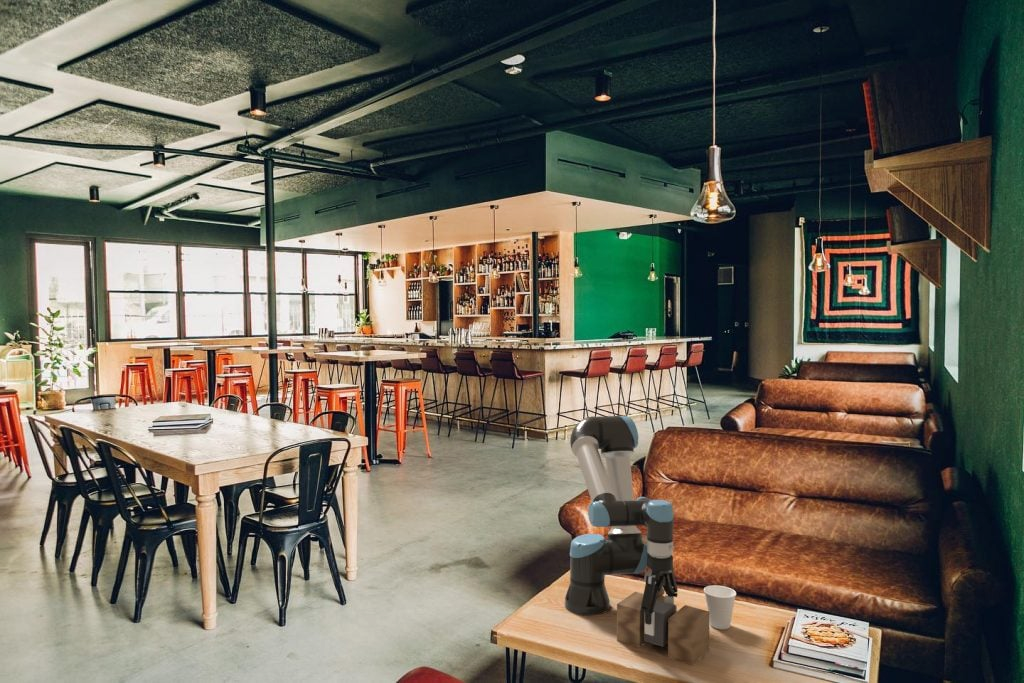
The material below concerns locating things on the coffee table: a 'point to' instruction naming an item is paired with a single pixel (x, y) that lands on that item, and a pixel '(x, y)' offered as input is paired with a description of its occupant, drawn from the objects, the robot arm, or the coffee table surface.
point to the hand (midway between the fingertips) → (659, 626)
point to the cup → (720, 605)
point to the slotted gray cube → (660, 623)
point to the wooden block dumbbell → (683, 629)
